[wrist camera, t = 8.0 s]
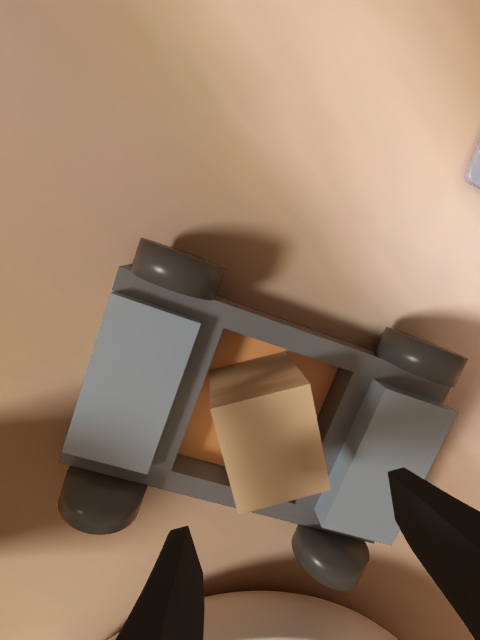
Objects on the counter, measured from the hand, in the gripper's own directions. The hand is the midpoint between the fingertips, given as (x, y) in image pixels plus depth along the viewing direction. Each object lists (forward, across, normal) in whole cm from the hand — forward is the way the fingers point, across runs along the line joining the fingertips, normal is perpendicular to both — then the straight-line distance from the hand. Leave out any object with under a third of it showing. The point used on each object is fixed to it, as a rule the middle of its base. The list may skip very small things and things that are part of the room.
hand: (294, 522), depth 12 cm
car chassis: (+9, 0, 0) cm, 9 cm away
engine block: (+9, 0, 0) cm, 9 cm away
